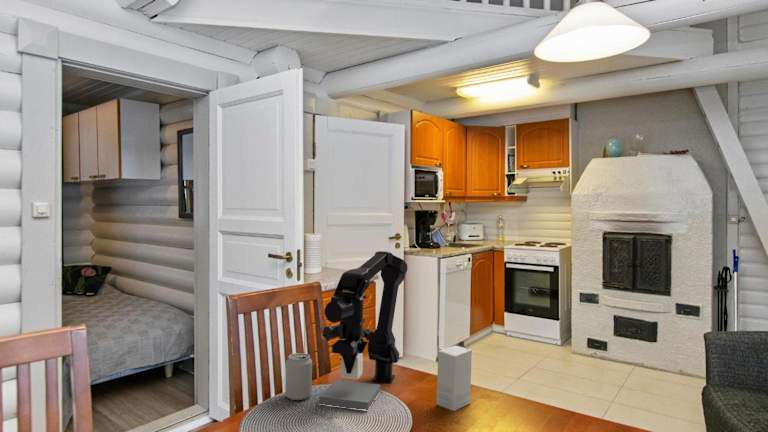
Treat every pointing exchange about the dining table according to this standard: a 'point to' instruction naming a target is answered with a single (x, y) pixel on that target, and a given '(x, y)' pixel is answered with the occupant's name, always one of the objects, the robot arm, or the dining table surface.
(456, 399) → the skincare box
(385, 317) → the robot arm
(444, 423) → the dining table surface
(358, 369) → the block
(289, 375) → the can
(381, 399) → the dining table surface
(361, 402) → the base board
